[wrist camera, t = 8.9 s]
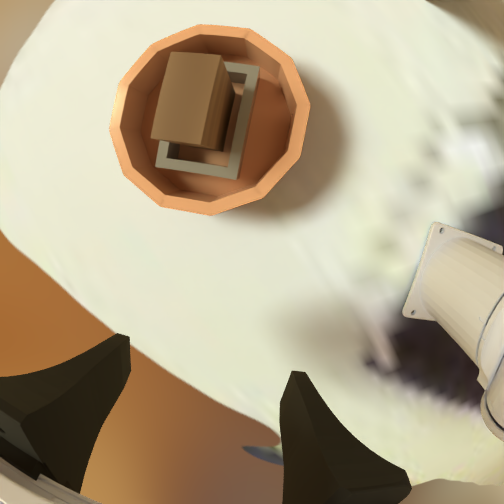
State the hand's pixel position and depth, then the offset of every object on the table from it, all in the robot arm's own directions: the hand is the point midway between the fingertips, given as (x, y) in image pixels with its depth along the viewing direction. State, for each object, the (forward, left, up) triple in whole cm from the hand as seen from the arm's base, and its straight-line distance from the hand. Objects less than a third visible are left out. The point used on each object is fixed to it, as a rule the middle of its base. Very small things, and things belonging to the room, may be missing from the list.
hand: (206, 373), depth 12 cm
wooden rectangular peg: (+3, -11, -9) cm, 15 cm away
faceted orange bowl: (+3, -11, -10) cm, 15 cm away
